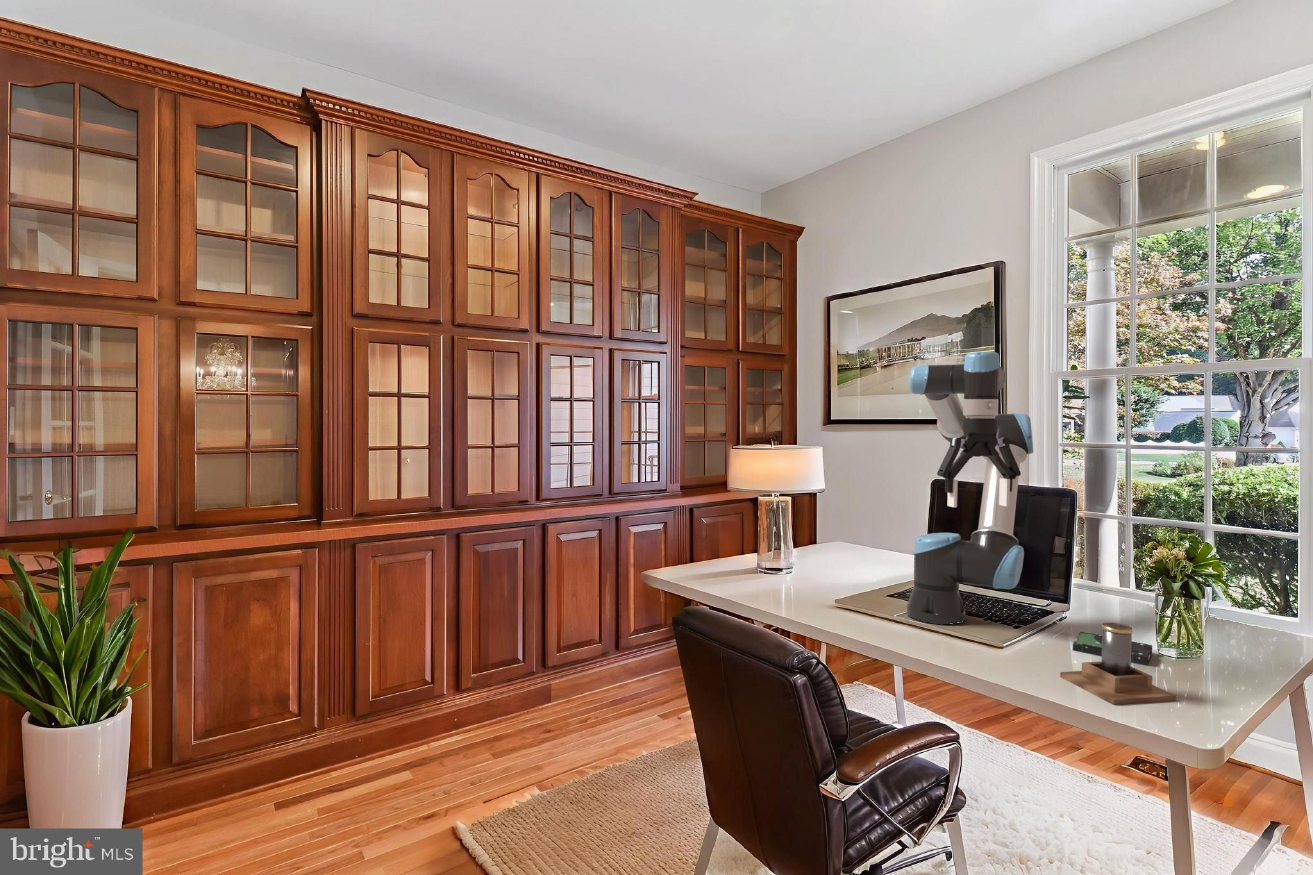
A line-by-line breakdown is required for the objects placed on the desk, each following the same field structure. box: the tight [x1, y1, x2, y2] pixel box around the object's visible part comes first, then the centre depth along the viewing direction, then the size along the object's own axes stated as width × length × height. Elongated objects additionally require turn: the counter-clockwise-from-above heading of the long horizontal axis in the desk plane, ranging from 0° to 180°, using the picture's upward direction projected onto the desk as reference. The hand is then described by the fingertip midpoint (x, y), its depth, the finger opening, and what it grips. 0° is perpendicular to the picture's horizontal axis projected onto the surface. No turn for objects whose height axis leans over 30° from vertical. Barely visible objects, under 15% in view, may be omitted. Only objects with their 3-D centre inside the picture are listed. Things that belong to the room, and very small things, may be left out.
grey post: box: [1100, 621, 1133, 676], centre depth 139 cm, size 5×5×12 cm
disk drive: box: [1072, 631, 1153, 667], centre depth 160 cm, size 10×3×15 cm
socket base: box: [1059, 660, 1177, 706], centre depth 139 cm, size 14×14×4 cm
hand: (978, 506), depth 160 cm, fingers open, 13 cm apart
